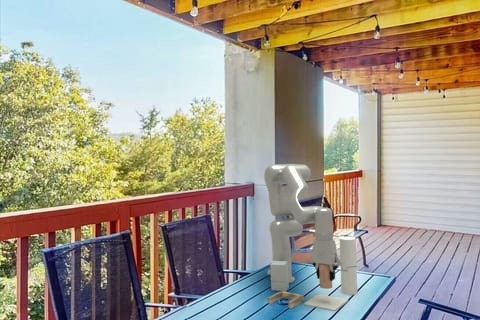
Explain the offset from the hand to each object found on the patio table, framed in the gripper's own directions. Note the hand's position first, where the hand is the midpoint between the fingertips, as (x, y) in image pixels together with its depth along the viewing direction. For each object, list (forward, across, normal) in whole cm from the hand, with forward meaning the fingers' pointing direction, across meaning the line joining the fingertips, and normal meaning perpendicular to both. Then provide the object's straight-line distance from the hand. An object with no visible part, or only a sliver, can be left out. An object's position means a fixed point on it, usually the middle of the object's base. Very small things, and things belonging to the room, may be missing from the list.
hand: (325, 278), depth 169 cm
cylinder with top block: (+3, 0, 0) cm, 3 cm away
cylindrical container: (+11, +3, +18) cm, 21 cm away
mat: (+10, 0, 0) cm, 10 cm away
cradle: (+10, -15, -9) cm, 20 cm away
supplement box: (+10, -27, +6) cm, 30 cm away
